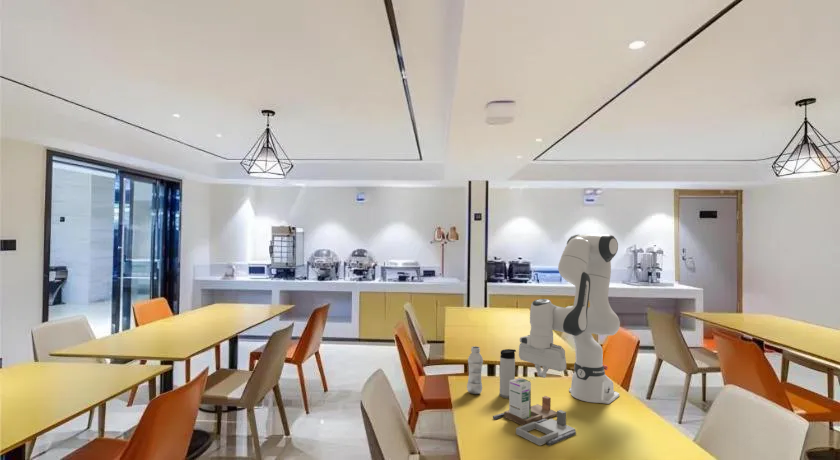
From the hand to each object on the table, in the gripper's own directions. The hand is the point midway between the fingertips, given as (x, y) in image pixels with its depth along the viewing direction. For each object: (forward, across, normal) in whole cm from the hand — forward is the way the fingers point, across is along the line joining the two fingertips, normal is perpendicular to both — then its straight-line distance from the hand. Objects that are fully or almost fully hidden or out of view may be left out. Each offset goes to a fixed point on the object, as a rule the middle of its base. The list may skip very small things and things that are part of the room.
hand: (541, 376), depth 161 cm
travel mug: (+14, +20, -2) cm, 25 cm away
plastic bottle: (+14, +30, +8) cm, 34 cm away
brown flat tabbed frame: (+14, 0, +6) cm, 15 cm away
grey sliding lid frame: (+14, -12, +14) cm, 23 cm away
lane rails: (+14, -6, +13) cm, 20 cm away
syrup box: (+14, +1, +13) cm, 19 cm away
